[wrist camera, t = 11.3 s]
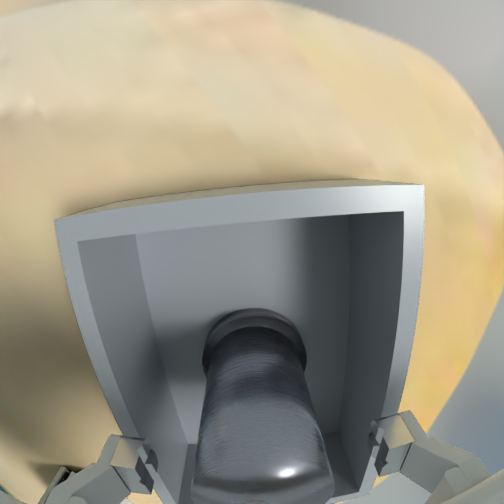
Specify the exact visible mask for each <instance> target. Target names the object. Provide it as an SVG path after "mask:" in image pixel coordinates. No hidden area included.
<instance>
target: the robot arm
mask: <svg viewBox="0 0 504 504" xmlns="http://www.w3.org/2000/svg"><path fill="white" fill-rule="evenodd" d="M370 428H371V430H372V431H371V432H370V433H369V434H368V439H367V444H368V450H369V453H370V456H371V457H373V458H375V459H376V460H375V463H374V466H375V468H376V470H377V473H378V475H379V477H381V476H385V475H388V474H392V473H395V472H399V471H400V473H402V474H403V475H405V476H406V477H408V478H409V479H411V480H412V481H413V482H415V483H416V484H418V485H420V486H421V487H423V488H424V489H426V490H427V491H429V492H430V493H432V494H431V496H430V497H429V499H428V500H427V501H426V503H425V504H504V469H502V470H501V471H499V472H498V473H496V474H494V475H493V476H490V474H489V473H488V471H487V470H486V468H485V467H484V465H483V464H482V462H481V461H480V459H479V458H478V456H477V455H474V454H472V453H469V452H467V451H464V450H462V449H460V448H457V447H455V446H452V445H450V444H448V443H445V442H443V441H441V440H439V439H436V438H434V437H432V436H430V437H427V435H426V433H425V432H424V430H423V429H422V427H421V426H420V424H419V422H418V421H417V419H416V418H415V416H414V415H413V413H412V412H411V411H410V410H408V411H405V412H401V413H398V414H393V415H390V416H386V417H383V418H379V419H375V420H373V421H372V422H371V426H370ZM150 448H151V443H150V441H149V439H146V438H138V437H129V436H121V435H114V434H111V435H110V436H109V437H108V439H107V441H106V443H105V445H104V448H103V450H102V452H101V454H100V457H99V459H98V461H97V463H92V464H91V465H89V466H88V467H86V468H84V469H83V470H81V471H80V472H78V473H77V474H75V475H73V476H72V477H70V478H69V479H67V480H65V481H64V482H62V483H60V484H59V485H57V486H55V487H54V488H53V489H52V491H51V493H50V495H49V497H48V499H47V501H46V503H45V504H120V503H121V502H122V501H123V500H124V499H125V498H126V497H127V496H128V495H129V494H131V493H130V492H133V493H141V494H150V495H151V493H152V489H153V485H154V480H153V479H152V476H153V475H155V474H156V473H157V468H158V459H157V455H156V453H155V451H153V450H152V449H150ZM0 504H26V503H24V502H22V501H20V500H18V499H16V498H14V497H12V496H10V495H8V494H6V493H4V492H2V491H0Z"/></svg>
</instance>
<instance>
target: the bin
mask: <svg viewBox="0 0 504 504" xmlns="http://www.w3.org/2000/svg"><path fill="white" fill-rule="evenodd" d="M54 223H55V229H56V235H57V240H58V246H59V251H60V256H61V260H62V265H63V269H64V274H65V278H66V282H67V286H68V290H69V294H70V298H71V301H72V305H73V308H74V312H75V315H76V319H77V322H78V325H79V328H80V331H81V335H82V338H83V341H84V344H85V346H86V349H87V352H88V355H89V358H90V360H91V363H92V366H93V368H94V371H95V374H96V376H97V379H98V381H99V384H100V386H101V388H102V391H103V393H104V396H105V398H106V400H107V402H108V405H109V407H110V409H111V411H112V413H113V416H114V418H115V420H116V422H117V424H118V426H119V428H120V430H121V432H122V434H123V436H129V437H138V438H146V439H149V441H150V443H151V448H150V449H152V450H153V451H155V453H156V455H157V459H158V468H157V473H156V474H155V475H153V476H152V479H153V480H154V485H153V489H154V490H155V492H156V493H157V495H158V497H159V498H160V500H161V501H162V503H163V504H194V503H193V501H192V499H191V497H190V490H191V482H192V475H193V468H194V461H195V454H196V447H197V440H198V434H199V427H200V420H201V414H202V407H203V401H204V395H205V388H206V382H207V378H206V376H205V374H204V371H203V366H202V356H203V351H204V346H205V342H206V338H207V335H208V333H209V332H210V330H211V328H212V327H213V326H214V324H216V323H217V322H218V321H219V320H220V319H221V318H223V317H224V316H226V315H228V314H229V313H232V312H234V311H237V310H241V309H246V308H264V309H269V310H272V311H275V312H278V313H280V314H282V315H283V316H285V317H287V318H288V319H289V320H290V321H291V322H292V323H293V324H294V325H295V326H296V328H297V329H298V331H299V333H300V335H301V338H302V341H303V343H304V346H305V350H306V354H307V365H306V369H305V372H304V375H305V379H306V382H307V386H308V389H309V393H310V396H311V400H312V403H313V407H314V410H315V414H316V417H317V421H318V424H319V428H320V432H321V435H322V439H323V442H324V446H325V449H326V453H327V457H328V460H329V464H330V468H331V471H332V475H333V478H334V482H335V491H334V494H333V495H332V497H331V498H330V499H329V500H328V502H326V503H325V504H331V503H336V502H341V501H345V500H350V499H354V498H358V497H362V496H366V495H369V494H370V492H371V490H372V487H373V485H374V482H375V480H376V477H377V475H378V473H377V470H376V468H375V466H374V463H375V460H376V459H375V458H373V457H371V456H370V453H369V450H368V444H367V439H368V434H369V433H370V432H371V431H372V430H371V428H370V426H371V422H372V421H373V420H375V419H379V418H383V417H386V416H390V415H393V414H397V413H398V409H399V405H400V402H401V398H402V393H403V389H404V385H405V381H406V376H407V372H408V367H409V362H410V357H411V351H412V346H413V340H414V334H415V327H416V321H417V313H418V305H419V297H420V287H421V277H422V264H423V246H424V185H421V184H412V183H402V182H391V181H379V180H366V179H344V180H322V181H304V182H288V183H274V184H261V185H250V186H239V187H228V188H219V189H209V190H200V191H192V192H183V193H175V194H168V195H160V196H153V197H146V198H139V199H132V200H126V201H120V202H116V203H112V204H108V205H104V206H101V207H97V208H93V209H89V210H86V211H82V212H79V213H75V214H72V215H68V216H65V217H62V218H58V219H55V220H54Z"/></svg>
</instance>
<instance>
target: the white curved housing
mask: <svg viewBox="0 0 504 504" xmlns="http://www.w3.org/2000/svg"><path fill="white" fill-rule="evenodd" d="M75 474H76V473H74V472H73V471H72V472H70V471H69V470H68V469H67V468H66V467H63V466H62V467H61V468H60V469H59V471H58V472H57V474H56V475H55V477H54V479H53V480H52V482H51V483H50V485H49V486H48V488H47V490H46V491H45V493H44V495H43V496H42V498H41V499H40V501H39V503H38V504H45V503H46V501H47V499H48V497H49V495H50V493H51V491H52V489H53V488H54V487H55V486H57V485H59V484H60V483H62V482H64V481H65V480H67V479H69V478H70V477H72V476H73V475H75ZM120 504H133V503H132V502H131V501H130V500H128V499H127V498H125V499H124V500H123V501H122V502H121V503H120Z"/></svg>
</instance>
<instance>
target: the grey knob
mask: <svg viewBox="0 0 504 504" xmlns="http://www.w3.org/2000/svg"><path fill="white" fill-rule="evenodd" d="M306 365H307V354H306V350H305V346H304V343H303V341H302V338H301V335H300V333H299V331H298V329H297V328H296V326H295V325H294V324H293V323H292V322H291V321H290V320H289V319H288V318H287V317H285V316H283V315H282V314H280V313H278V312H275V311H272V310H269V309H264V308H246V309H241V310H237V311H234V312H232V313H229V314H228V315H226V316H224V317H223V318H221V319H220V320H219V321H218V322H217V323H216V324H214V326H213V327H212V328H211V330H210V332H209V333H208V335H207V338H206V342H205V346H204V351H203V356H202V366H203V371H204V374H205V376H206V378H207V382H206V388H205V395H204V401H203V407H202V414H201V420H200V427H199V434H198V440H197V447H196V454H195V461H194V468H193V475H192V482H191V490H190V497H191V499H192V501H193V503H194V504H325V503H326V502H328V500H329V499H330V498H331V497H332V495H333V494H334V491H335V482H334V478H333V475H332V471H331V468H330V464H329V460H328V457H327V453H326V449H325V446H324V442H323V439H322V435H321V432H320V428H319V424H318V421H317V417H316V414H315V410H314V407H313V403H312V400H311V396H310V393H309V389H308V386H307V382H306V379H305V375H304V372H305V369H306Z"/></svg>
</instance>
